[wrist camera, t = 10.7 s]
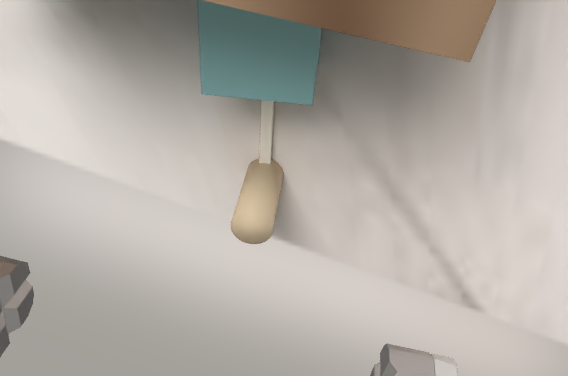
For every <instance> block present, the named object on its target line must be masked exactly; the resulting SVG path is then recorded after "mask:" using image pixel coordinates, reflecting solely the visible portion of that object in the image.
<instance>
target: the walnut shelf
mask: <svg viewBox="0 0 568 376" xmlns="http://www.w3.org/2000/svg"><path fill="white" fill-rule="evenodd" d="M203 1H207V2H212V3H216V4H220V5H225V6H229V7H233V8H237V9H242V10H246V11H250V12H255V13H259V14H263V15H268V16H272V17H276V18H281V19H285V20H289V21H294V22H298V23H302V24H306V25H311V26H315V27H319V28H324V29H328V30H332V31H337V32H341V33H345V34H350V35H354V36H358V37H362V38H367V39H371V40H375V41H380V42H384V43H388V44H393V45H397V46H401V47H406V48H410V49H414V50H419V51H423V52H427V53H431V54H436V55H440V56H444V57H449V58H453V59H457V60H462V61H466V62H470V60H471V58H472V56H473V54H474V51H475V49H476V47H477V44H478V42H479V40H480V37H481V35H482V33H483V30H484V28H485V26H486V23H487V21H488V19H489V16H490V14H491V12H492V9H493V7H494V5H495V2H496V0H203Z"/></svg>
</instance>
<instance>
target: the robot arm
mask: <svg viewBox="0 0 568 376" xmlns="http://www.w3.org/2000/svg"><path fill="white" fill-rule="evenodd" d="M29 274H30V270H29V266H28V263H27V262H23V261H19V260H15V259H11V258H7V257H3V256H0V357H1V355H2V354H3V352H4V351H5V350H6V348H7V347H8V345H9V344H10V341H9V333H10V332H12V331H14V330H16V329H18V328H20V327H21V326H22V324H23V323H24V321H25V320H26V318H27V317H28V315H29V312H30V309H31V307H32V304H33V297H34V292H33V286H32V285H31V284H30V283H29V282H28V281H27V280H26V278H27V276H28V275H29ZM370 376H458V371H457V365H456V362H455V360H454V359H452V358H448V357H444V356H439V355H435V354H430V353H428V352H424V351H419V350H414V349H410V348H405V347H400V346H396V345H391V344H386V345H385V346H384V347H383V349H382V351H381V353H380V362H379V363H377V364H375V365H374V368H373V370H372V373H371V375H370Z"/></svg>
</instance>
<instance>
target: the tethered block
mask: <svg viewBox="0 0 568 376" xmlns="http://www.w3.org/2000/svg"><path fill="white" fill-rule="evenodd" d="M198 23H199V47H200V71H201V94H205V95H215V96H225V97H235V98H245V99H255V100H261V123H260V154H259V159H256V160H254V161H253V162H251V164H250V165H249V167H248V169H247V173H246V176H245V179H244V182H243V186H242V189H241V192H240V195H239V199H238V202H237V205H236V209H235V212H234V215H233V218H232V222H231V230H232V232H233V234H234V235H235V236H236V237H237V238H238V239H239V240H241V241H243V242H245V243H249V244H259V243H263V242H265V241H267V240H268V239H269V238H270V237H271V235H272V231H273V226H274V221H275V216H276V211H277V206H278V201H279V196H280V191H281V186H282V181H283V176H284V173H283V169H282V167H281V166H280V165H279V164H278V163H277V162H276V161H274V160H272V159H271V157H272V136H273V116H274V101H275V102H285V103H295V104H305V105H312V103H313V97H314V90H315V83H316V77H317V70H318V62H319V52H320V42H321V32H322V28H319V27H315V26H311V25H306V24H302V23H298V22H294V21H289V20H285V19H281V18H276V17H272V16H268V15H263V14H259V13H255V12H250V11H246V10H242V9H237V8H233V7H229V6H225V5H220V4H216V3H212V2H207V1H203V0H198Z"/></svg>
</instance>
